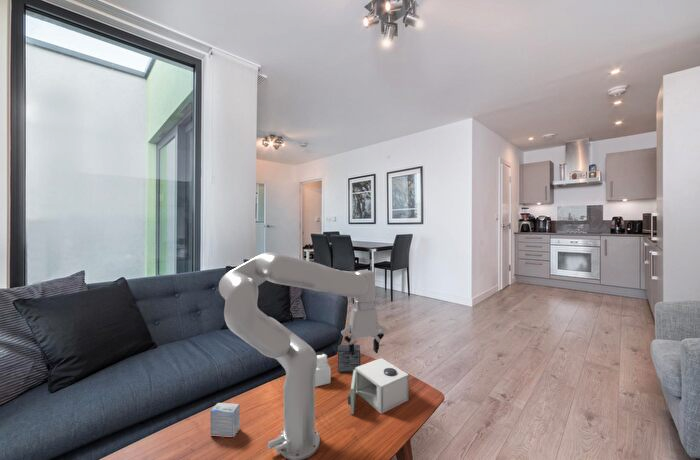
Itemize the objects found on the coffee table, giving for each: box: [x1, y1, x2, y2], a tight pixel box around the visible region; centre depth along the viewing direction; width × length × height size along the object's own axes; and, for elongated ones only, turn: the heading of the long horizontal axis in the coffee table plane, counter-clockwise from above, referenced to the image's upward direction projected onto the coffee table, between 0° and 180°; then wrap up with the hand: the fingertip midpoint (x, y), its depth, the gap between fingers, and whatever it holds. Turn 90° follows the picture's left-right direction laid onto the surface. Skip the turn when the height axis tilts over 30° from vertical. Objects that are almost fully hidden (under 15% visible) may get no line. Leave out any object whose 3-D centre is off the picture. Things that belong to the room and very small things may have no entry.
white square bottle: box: [315, 351, 332, 388], centre depth 121 cm, size 7×7×12 cm
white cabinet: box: [355, 357, 410, 414], centre depth 111 cm, size 14×16×11 cm
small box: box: [337, 344, 361, 374], centre depth 131 cm, size 11×6×10 cm, turn 91°
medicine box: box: [209, 402, 241, 438], centre depth 91 cm, size 8×4×9 cm, turn 84°
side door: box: [347, 370, 357, 415], centre depth 106 cm, size 2×13×9 cm, turn 175°
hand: (363, 352), depth 101 cm, fingers open, 8 cm apart
